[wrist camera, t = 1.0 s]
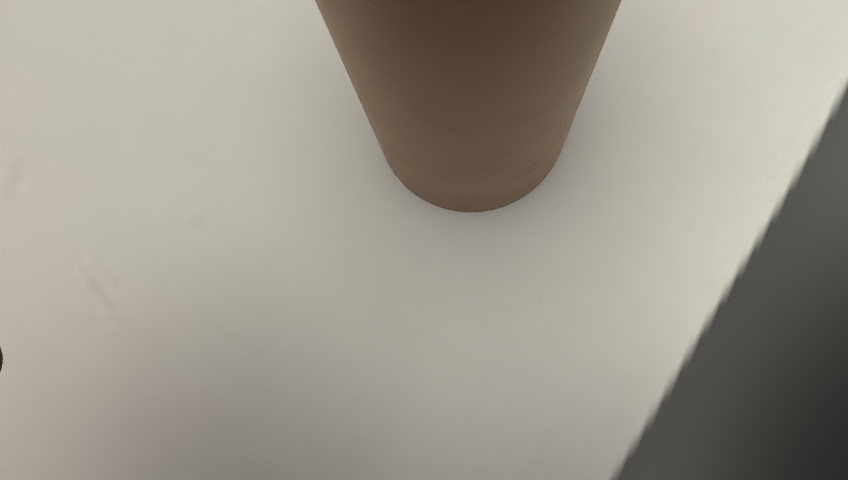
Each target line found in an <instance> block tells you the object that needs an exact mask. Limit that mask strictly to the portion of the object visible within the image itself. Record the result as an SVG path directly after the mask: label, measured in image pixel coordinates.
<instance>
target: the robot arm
mask: <svg viewBox="0 0 848 480" xmlns="http://www.w3.org/2000/svg"><path fill="white" fill-rule="evenodd" d="M2 363H3V355H2V351H1V348H0V371H1V368H2Z"/></svg>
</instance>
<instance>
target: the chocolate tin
mask: <svg viewBox="0 0 848 480" xmlns="http://www.w3.org/2000/svg"><path fill="white" fill-rule="evenodd" d="M315 1H316V3H317V6H318V8H319V10H320V12H321V14H322V17H323V19H324V21H325V23H326V26H327V28H328V30H329V32H330V35H331V37H332V39H333V41H334V44H335V46H336V48H337V50H338V52H339V55H340V57H341V59H342V61H343V64H344V66H345V68H346V70H347V73H348V75H349V77H350V79H351V81H352V84H353V86H354V88H355V90H356V93H357V95H358V97H359V99H360V102H361V104H362V106H363V108H364V111H365V113H366V115H367V117H368V119H369V122H370V124H371V126H372V128H373V131H374V133H375V135H376V137H377V140H378V142H379V144H380V146H381V149H382V151H383V153H384V155H385V157H386V160H387V162H388V164H389V165H390V167H391V169H392V170H393V172H394V173H395V175H396V176H397V177H398V178H399V179H400V181H401V182H402V183H403V184H404V185H405V186H406V187H407V188H408V189H410V190H411V191H412V192H413V193H415V194H416V195H418V196H419V197H420V198H422V199H424V200H426V201H428V202H430V203H432V204H434V205H437V206H440V207H443V208H446V209H451V210H455V211H465V212H477V211H486V210H492V209H496V208H499V207H502V206H506V205H508V204H510V203H512V202H514V201H517V200H518V199H520V198H521V197H523V196H525V195H526V194H528V193H529V192H530V191H531V190H533V189H534V188H535V187H536V186H537V185H538V184H539V183H540V182H541V181H542V180H543V179H544V178H545V177H546V176H547V174H548V173H549V171H550V170H551V168H552V167H553V165H554V163H555V161H556V160H557V158H558V156H559V153H560V151H561V148H562V146H563V143H564V141H565V138H566V136H567V133H568V131H569V128H570V126H571V123H572V121H573V119H574V116H575V114H576V111H577V109H578V106H579V104H580V101H581V99H582V96H583V94H584V91H585V89H586V86H587V84H588V81H589V79H590V76H591V74H592V71H593V69H594V67H595V64H596V62H597V59H598V57H599V54H600V52H601V49H602V47H603V44H604V42H605V39H606V37H607V34H608V32H609V29H610V27H611V24H612V22H613V19H614V17H615V15H616V12H617V10H618V7H619V5H620V2H621V0H315Z"/></svg>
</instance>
